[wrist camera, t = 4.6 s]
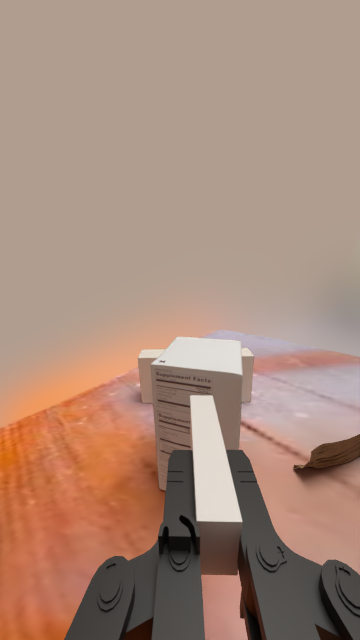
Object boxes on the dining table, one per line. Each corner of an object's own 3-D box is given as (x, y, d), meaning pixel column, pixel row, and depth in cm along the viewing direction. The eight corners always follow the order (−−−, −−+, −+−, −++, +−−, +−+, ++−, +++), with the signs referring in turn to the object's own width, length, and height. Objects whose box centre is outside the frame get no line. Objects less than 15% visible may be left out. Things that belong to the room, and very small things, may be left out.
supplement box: (236, 517, 20) (245, 376, 16) (156, 491, 23) (147, 364, 19) (236, 441, 29) (242, 339, 25) (179, 429, 32) (176, 334, 28)
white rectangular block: (250, 401, 38) (254, 356, 35) (141, 403, 38) (137, 358, 36) (244, 389, 42) (247, 347, 39) (145, 391, 42) (142, 349, 40)
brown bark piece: (369, 436, 29) (376, 409, 28) (386, 448, 27) (395, 419, 26) (293, 469, 25) (297, 439, 24) (307, 486, 23) (313, 453, 22)
